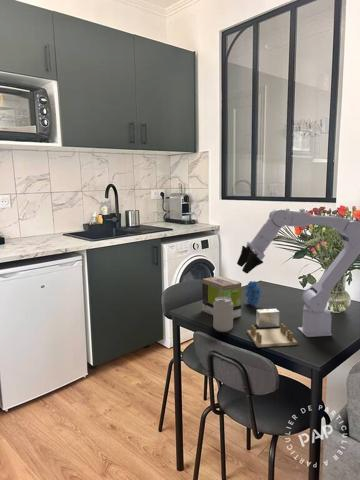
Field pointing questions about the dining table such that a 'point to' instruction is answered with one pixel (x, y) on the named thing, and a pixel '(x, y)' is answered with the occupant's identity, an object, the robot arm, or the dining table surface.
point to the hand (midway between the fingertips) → (241, 268)
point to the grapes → (253, 293)
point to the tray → (272, 337)
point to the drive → (267, 318)
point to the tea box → (221, 293)
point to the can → (223, 314)
